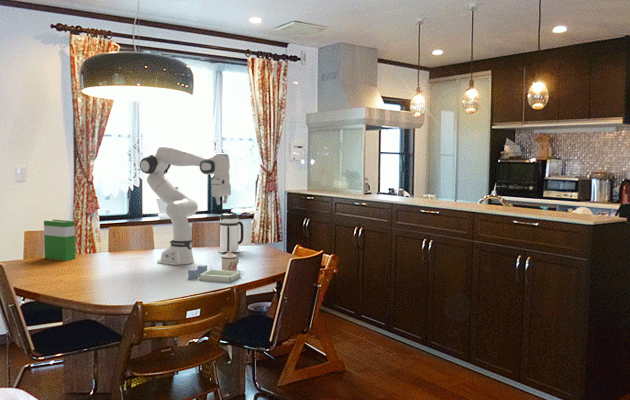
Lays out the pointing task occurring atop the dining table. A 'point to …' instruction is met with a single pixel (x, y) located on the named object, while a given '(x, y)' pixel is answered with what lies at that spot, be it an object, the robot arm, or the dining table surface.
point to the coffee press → (229, 232)
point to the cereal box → (59, 239)
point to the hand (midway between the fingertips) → (221, 203)
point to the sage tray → (219, 276)
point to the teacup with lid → (229, 262)
